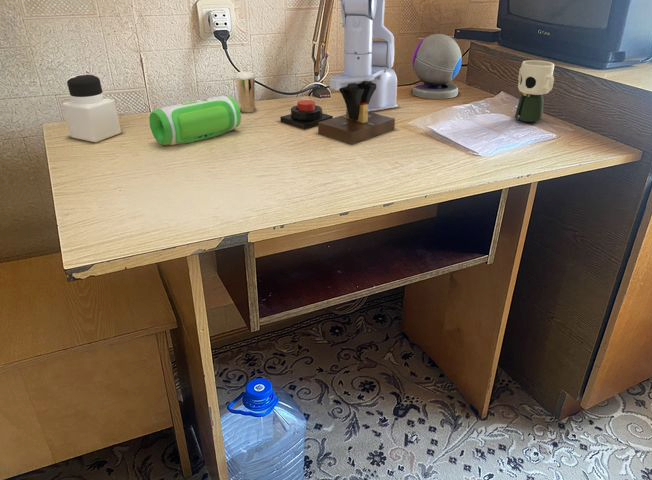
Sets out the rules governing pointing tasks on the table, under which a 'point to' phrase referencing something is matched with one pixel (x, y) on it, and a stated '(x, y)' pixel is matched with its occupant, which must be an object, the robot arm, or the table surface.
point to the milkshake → (246, 90)
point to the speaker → (194, 120)
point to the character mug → (533, 88)
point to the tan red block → (361, 113)
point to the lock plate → (355, 128)
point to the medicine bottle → (90, 110)
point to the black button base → (305, 117)
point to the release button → (306, 105)
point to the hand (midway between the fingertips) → (357, 118)
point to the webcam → (437, 67)
